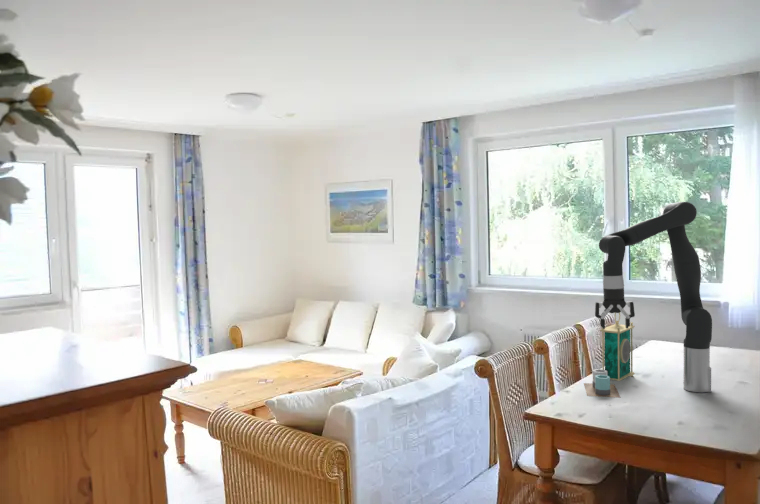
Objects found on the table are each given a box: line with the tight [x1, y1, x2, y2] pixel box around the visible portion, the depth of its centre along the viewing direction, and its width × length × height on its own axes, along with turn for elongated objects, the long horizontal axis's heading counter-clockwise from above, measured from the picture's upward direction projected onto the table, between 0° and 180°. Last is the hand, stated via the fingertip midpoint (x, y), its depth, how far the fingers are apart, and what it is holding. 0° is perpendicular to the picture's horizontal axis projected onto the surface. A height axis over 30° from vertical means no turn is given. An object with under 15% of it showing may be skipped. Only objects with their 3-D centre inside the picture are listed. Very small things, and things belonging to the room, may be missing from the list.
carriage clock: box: [599, 312, 636, 382], centre depth 256 cm, size 17×9×30 cm, turn 137°
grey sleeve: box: [592, 368, 607, 388], centre depth 240 cm, size 5×5×6 cm
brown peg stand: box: [583, 382, 621, 399], centre depth 235 cm, size 12×18×6 cm, turn 165°
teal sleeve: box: [595, 375, 611, 395], centre depth 231 cm, size 5×5×6 cm
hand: (615, 328), depth 233 cm, fingers open, 8 cm apart
